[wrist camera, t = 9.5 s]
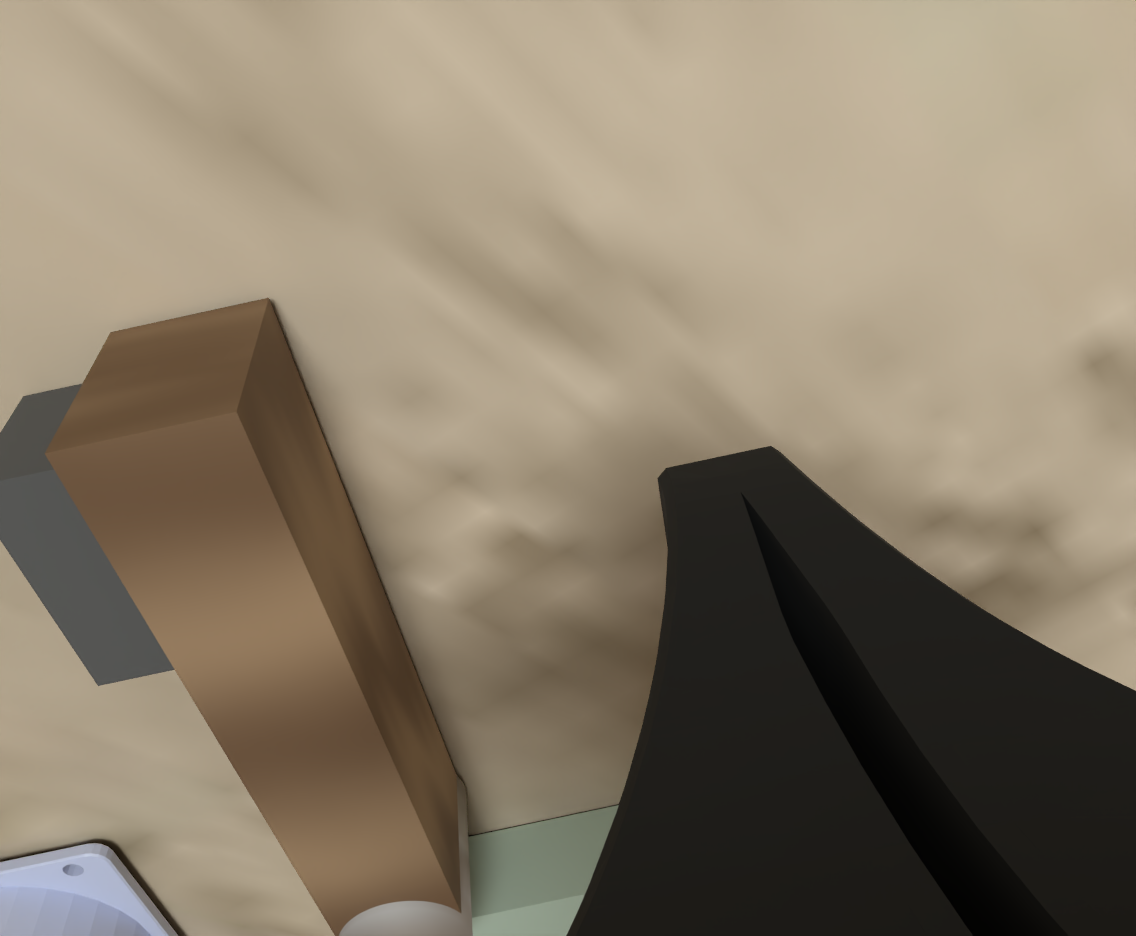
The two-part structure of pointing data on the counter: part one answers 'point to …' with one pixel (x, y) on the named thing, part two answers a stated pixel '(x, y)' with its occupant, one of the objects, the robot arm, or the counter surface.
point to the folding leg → (271, 610)
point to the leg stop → (67, 550)
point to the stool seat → (535, 874)
